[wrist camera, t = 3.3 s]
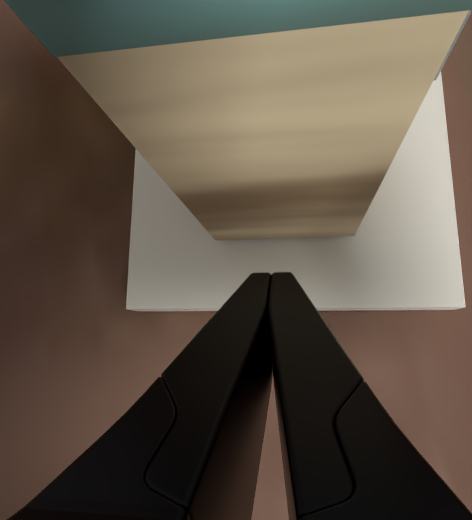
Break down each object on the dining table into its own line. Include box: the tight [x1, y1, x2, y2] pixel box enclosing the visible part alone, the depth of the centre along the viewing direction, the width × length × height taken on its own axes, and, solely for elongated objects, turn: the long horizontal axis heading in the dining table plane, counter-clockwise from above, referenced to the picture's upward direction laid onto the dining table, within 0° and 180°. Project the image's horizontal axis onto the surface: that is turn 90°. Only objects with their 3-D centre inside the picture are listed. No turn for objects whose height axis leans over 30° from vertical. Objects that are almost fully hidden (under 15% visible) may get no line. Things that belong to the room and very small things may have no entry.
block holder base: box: [126, 10, 471, 311], centre depth 15 cm, size 14×12×4 cm
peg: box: [4, 0, 472, 240], centre depth 10 cm, size 5×5×11 cm
